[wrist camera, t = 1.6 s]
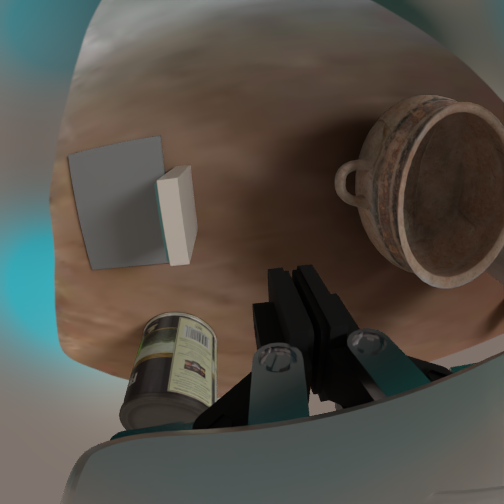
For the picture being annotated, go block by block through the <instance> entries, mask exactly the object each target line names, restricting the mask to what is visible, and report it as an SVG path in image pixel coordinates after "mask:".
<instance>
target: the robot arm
mask: <svg viewBox="0 0 504 504" xmlns="http://www.w3.org/2000/svg"><path fill="white" fill-rule="evenodd" d="M484 271H485V272H487V273H488V274H489V275H491V276H492V277H494V278H495V279H496V280H498V281H499V282H500V283H502V284H503V285H504V246H503V247H502V249H501V251H500V252H499V254H498V255H497V257H496V258H495V259H494V261H493V262H492V263H491V264H490V266H489V267H488V268H487V269H486V270H484ZM268 291H269V302H265V303H255V304H253V320H254V330H255V338H256V344H257V351H256V353H255V354H254V357H253V363H252V372H250V373H249V374H248V375H247V376H246V377H245V378H244V379H242V380H241V381H240V382H239V383H238V384H237V385H235V386H234V387H233V388H232V389H231V390H230V391H228V392H227V393H226V394H225V395H224V396H222V397H221V398H220V399H219V400H218V401H216V402H215V403H214V404H213V405H211V406H210V407H209V408H208V409H207V410H205V411H204V412H203V413H202V414H200V415H199V416H198V417H197V419H196V420H195V422H190V423H186V424H184V422H183V421H179V422H174V423H169V424H164V425H158V426H152V427H146V428H140V429H133V430H126V431H122V432H118V433H117V434H115V435H114V436H113V437H112V438H111V439H110V441H106V442H104V443H101V444H98V445H96V446H94V447H92V448H91V449H89V450H87V451H86V452H85V453H84V454H83V455H82V456H81V457H80V458H79V459H78V460H77V462H76V463H75V465H74V467H73V469H72V471H71V473H70V476H69V478H68V481H67V483H66V486H65V489H64V493H63V496H62V500H61V504H504V351H503V352H501V353H499V354H496V355H494V356H491V357H489V358H487V359H485V360H483V361H481V362H478V363H473V364H468V365H462V366H455V367H451V368H450V369H449V370H448V369H447V368H445V367H442V366H439V365H436V364H433V363H429V362H426V361H423V360H420V359H416V358H413V357H410V356H407V355H405V353H404V352H403V351H402V350H401V349H400V348H399V347H398V346H397V345H396V344H395V343H394V342H393V341H392V340H391V339H390V338H389V337H388V336H387V335H386V334H385V333H383V332H381V331H379V330H376V329H370V328H364V329H359V327H358V326H357V324H356V323H355V321H354V320H353V318H352V316H351V315H350V313H349V312H348V310H347V309H346V307H345V306H344V304H343V302H342V301H341V299H340V298H339V296H338V295H337V294H330V293H329V291H328V289H327V288H326V286H325V285H324V283H323V281H322V280H321V278H320V277H319V275H318V273H317V272H316V270H315V269H314V267H313V266H312V265H302V266H297V270H293V271H292V278H291V276H290V274H289V271H284V270H283V268H274V269H268ZM310 386H311V389H312V392H313V394H318V395H319V398H320V401H321V402H322V401H327V400H330V401H333V402H335V408H336V411H333V412H328V413H324V414H319V415H314V416H309V407H308V403H309V394H310Z"/></svg>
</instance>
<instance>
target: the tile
mask: <svg viewBox="0 0 504 504" xmlns="http://www.w3.org/2000/svg"><path fill="white" fill-rule="evenodd" d="M154 186H155V193H156V200H157V207H158V213H159V220H160V226H161V232H162V237H163V243H164V249H165V254H166V259H167V261H170V266H174V265H185V264H190V260H191V255H192V251H193V247H194V243H195V238H196V234H197V230H198V226H197V218H196V210H195V202H194V193H193V184H192V175H191V166H190V165H185V166H177V167H174V168H173V169H172V170H170V171H169V172H167V173H166V174H165V175H163V176H162V177H161V178H159V179H158V180H157V183H155V184H154Z"/></svg>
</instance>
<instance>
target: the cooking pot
mask: <svg viewBox="0 0 504 504" xmlns="http://www.w3.org/2000/svg"><path fill="white" fill-rule="evenodd" d="M355 170H356V175H355V193H356V196H354V195H351V194H350V193H348V192H347V190H346V177H347V175H348V174H349V173H350V172H352V171H355ZM335 190H336V192H337V194H338V196H339V197H340V198H341V199H342V200H343V201H344V202H346V203H347V204H349V205H352V206H356V207H357V208H358V212H359V215H360V218H361V222H362V225H363V227H364V229H365V231H366V233H367V235H368V237H369V239H370V241H371V242H372V243H373V245H374V246H375V247H376V249H377V250H378V251H379V253H380V254H382V255H383V256H384V257H385V258H386V259H387V260H388V261H390V262H391V263H392V264H394V265H395V266H397V267H399V268H401V269H403V270H405V271H407V272H411V273H414V274H416V275H417V276H418V277H419V278H420V279H421V280H422V281H423V282H425V283H427V284H429V285H431V286H433V287H437V288H454V287H458V286H462V285H464V284H466V283H468V282H470V281H472V280H473V279H475V278H476V277H477V276H479V275H480V274H481V273H482V272H483V271H484V270H486V269H487V268H488V267H489V266H490V264H491V263H492V262H493V261H494V259H495V258H496V257H497V255H498V254H499V252H500V251H501V249H502V247H503V246H504V126H503V125H502V124H501V122H500V121H499V120H498V118H497V117H496V116H494V115H493V114H492V113H491V112H490V111H489V110H487V109H486V108H484V107H482V106H481V105H478V104H475V103H471V102H457V101H455V100H452V99H450V98H446V97H441V96H437V95H420V96H415V97H411V98H408V99H405V100H402V101H401V102H399V103H397V104H395V105H394V106H392V107H391V108H389V109H388V110H387V111H386V112H385V113H384V114H383V115H382V116H381V117H380V118H379V119H378V120H377V121H376V123H375V124H374V126H373V127H372V128H371V130H370V131H369V133H368V135H367V137H366V139H365V141H364V143H363V145H362V148H361V152H360V155H359V158H358V160H352V161H349V162H347V163H345V164H343V165H342V166H341V167H340V168H339V169H338V170H337V172H336V175H335Z"/></svg>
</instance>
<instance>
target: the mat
mask: <svg viewBox="0 0 504 504" xmlns="http://www.w3.org/2000/svg"><path fill="white" fill-rule="evenodd" d="M68 158H69V165H70V172H71V178H72V184H73V190H74V196H75V201H76V206H77V211H78V216H79V220H80V225H81V229H82V233H83V237H84V241H85V245H86V249H87V253H88V257H89V260H90V264H91V268H92V270H97V269H108V268H119V267H130V266H141V265H151V264H162V263H170V261H167V259H166V254H165V249H164V243H163V237H162V232H161V226H160V220H159V213H158V207H157V200H156V193H155V186H154V184H155V183H157V180H158V179H159V178H161V177H162V176H163V175H165V172H164V163H163V154H162V145H161V136H155V137H149V138H143V139H137V140H132V141H127V142H122V143H117V144H112V145H107V146H103V147H98V148H94V149H90V150H86V151H82V152H78V153H74V154H70V155H68Z"/></svg>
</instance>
